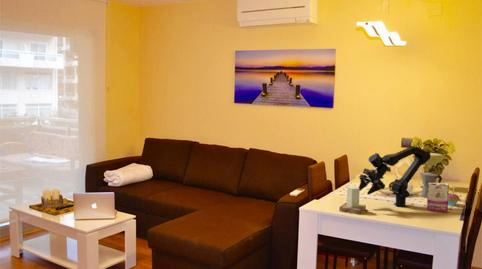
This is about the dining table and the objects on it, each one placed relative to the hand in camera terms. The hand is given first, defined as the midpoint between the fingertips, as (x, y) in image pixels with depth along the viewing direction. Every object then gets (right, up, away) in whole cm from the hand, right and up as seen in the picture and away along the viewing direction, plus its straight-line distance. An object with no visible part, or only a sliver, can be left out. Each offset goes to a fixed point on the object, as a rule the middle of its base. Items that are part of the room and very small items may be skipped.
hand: (362, 192), depth 261 cm
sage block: (-6, -8, -1) cm, 10 cm away
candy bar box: (+43, -11, 0) cm, 45 cm away
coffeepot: (+53, -7, +32) cm, 62 cm away
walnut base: (-6, -10, -1) cm, 12 cm away
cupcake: (+58, -10, +13) cm, 60 cm away
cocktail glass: (+63, -5, +58) cm, 86 cm away
